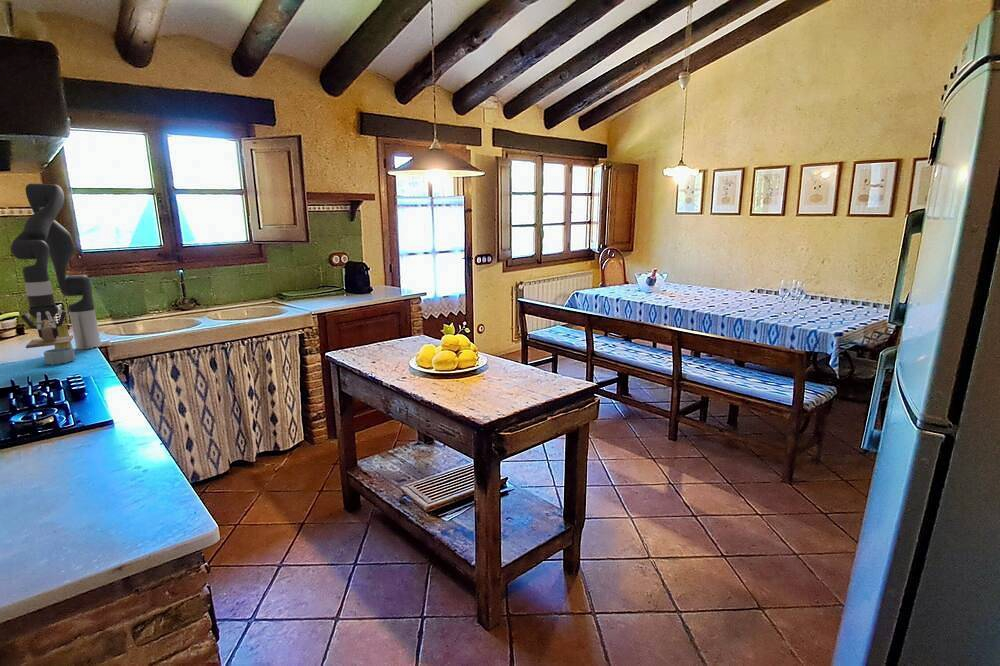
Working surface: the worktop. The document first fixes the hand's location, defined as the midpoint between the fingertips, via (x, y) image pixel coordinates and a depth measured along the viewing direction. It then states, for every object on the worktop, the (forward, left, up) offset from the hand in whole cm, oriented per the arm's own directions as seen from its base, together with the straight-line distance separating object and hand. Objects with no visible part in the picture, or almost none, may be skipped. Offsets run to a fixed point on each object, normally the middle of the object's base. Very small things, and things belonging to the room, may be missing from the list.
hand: (49, 337), depth 200 cm
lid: (0, 0, -2) cm, 2 cm away
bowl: (-13, 0, -12) cm, 18 cm away
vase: (-25, 0, -13) cm, 28 cm away
